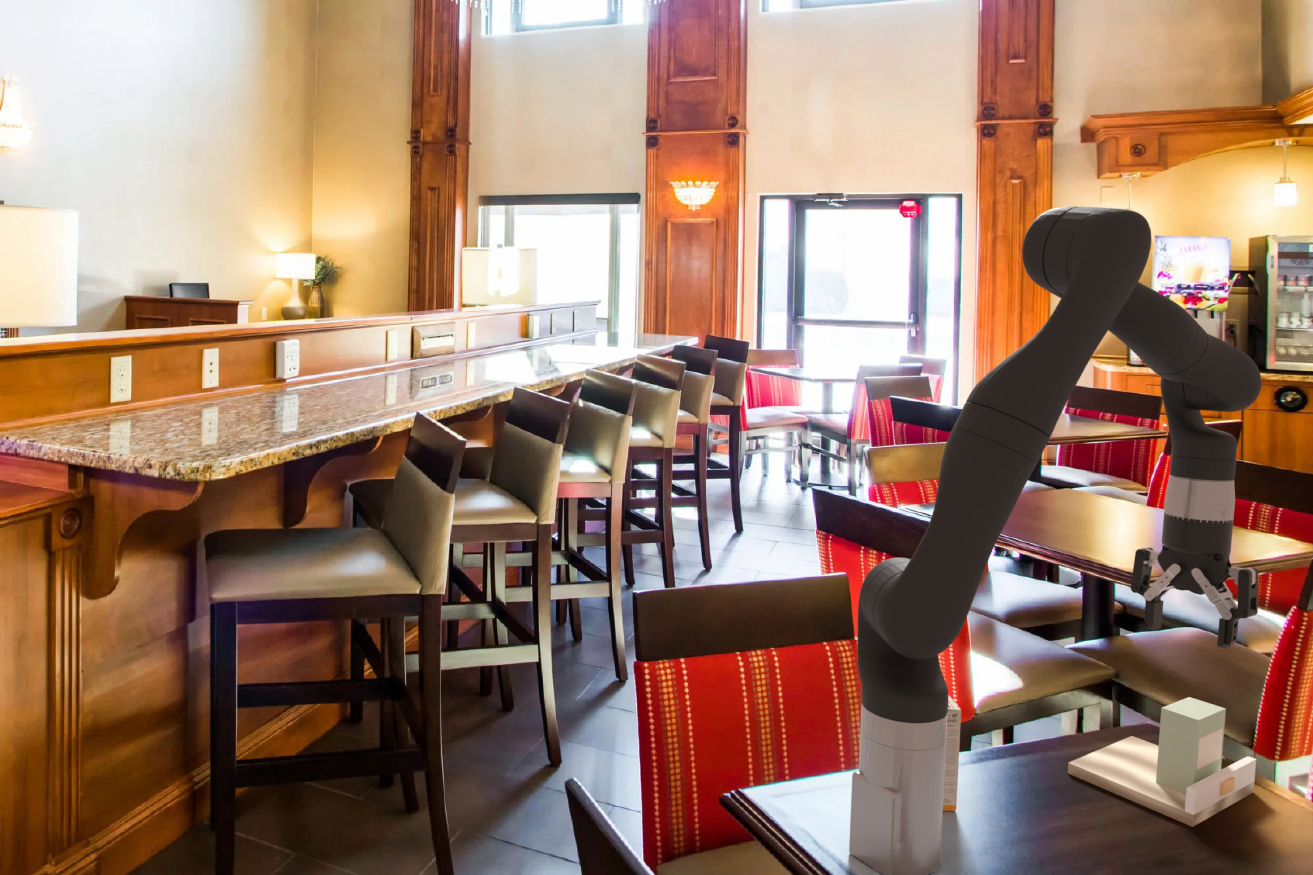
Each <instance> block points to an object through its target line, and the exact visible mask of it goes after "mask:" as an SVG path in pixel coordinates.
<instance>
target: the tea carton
mask: <svg viewBox="0 0 1313 875" xmlns="http://www.w3.org/2000/svg"><path fill="white" fill-rule="evenodd" d="M1160 711H1161V712H1160V721H1159V722H1160V723H1159V734H1158V735H1159V736H1158V746H1159V747H1158V760H1157V774H1156V783H1158V784H1161V785H1163V786H1166V787H1168V788H1171V789H1173V790H1176V791H1178V792H1181V793H1183V794H1185V795H1186V789H1187V787H1189V786H1191V785H1193V784H1195V783H1197V782H1199V781H1201V780H1202V779H1204V778H1206V777H1208V776H1210V775H1212V774H1214V773H1216V772H1218V771H1220V770H1221V769H1222V763H1223V762H1222V760H1223V749H1224V747H1223V746H1224V735H1225V725H1226V714H1227V713H1226V711H1227V708H1225V707H1222V706H1219V705H1216V704H1212V703H1209V702H1206V701H1203V700H1200V699H1197V698H1193V697H1190V696H1188V697H1186V698H1183V699H1181V700H1177V701H1175V702H1172V703H1170V704H1168V705H1165V706H1162V707H1161V709H1160Z"/></svg>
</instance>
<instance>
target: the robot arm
mask: <svg viewBox="0 0 1313 875" xmlns="http://www.w3.org/2000/svg"><path fill="white" fill-rule="evenodd" d="M1151 248H1152V229H1151V227H1150V224H1149V222H1148V220H1147V219H1146V218H1145V216H1144V215H1142V214H1141V213H1140V212H1137V211H1134V210H1132V209H1131V210H1130V209H1125V208H1113V207H1101V206H1100V207H1097V206H1077V205H1076V206H1073V205H1072V206H1061V207H1055V208H1051V209H1049V210H1046V211H1044V212H1042V213H1041V214H1040V215H1038V216H1037V218H1035V219H1034V220H1033V222H1032V223H1031V224H1030V226H1029V228H1028V229H1027V231H1026V233H1025V236H1024V240H1023V243H1022V249H1021V250H1022V252H1021V253H1022V254H1021V255H1022V262H1023V267H1024V269H1025V272H1026V273H1027V275H1028V277H1029V278H1030V279H1031V280H1032V281H1033V282H1034V283H1035V285H1037V286H1039V287H1041V289H1044V290H1046V292H1049V293H1050V294H1052V295H1054V296H1056V297H1057V298H1060V300H1059V301H1058V304H1057V305H1056V306H1055V309H1054V311H1053V312H1052V314H1051V315H1050V316H1049V318H1048V319H1047V321H1046V322H1045V323H1044V325H1042V327H1041V328H1040V329H1039V330H1038V331H1037V332H1036V333H1035V335H1034V336H1033V337H1031V338H1030V339H1028V340H1027V342H1025V343H1023V345H1021V346H1020V347H1019V348H1017V350H1015V351H1014V352H1013V353H1011V354H1010V355H1009V356H1007V357H1006V358H1005V359H1004V360H1001V362H1000V363H999V364H997V365H996V366H995V367H994V368H993V369H992V370H990V371H989V372H988V373H987V374H986V375H985V376H983V377H982V379H981V380H979V381H978V382H977V383H976V384H975V385H974V387H973V389H972V390H971V392H970V393H969V395H968V396H967V399H966V401H965V403H964V404H963V407H962V409H961V411H960V413H959V415H958V417H957V420H955V423H954V425H953V427H952V429H951V430H950V433H949V436H948V438H947V441H946V444H945V447H944V450H943V454H942V458H941V462H940V463H941V465H940V468H939V478H938V483H937V490H936V497H935V502H934V508H933V511H932V515H931V518H930V520H929V522H928V526H927V528H926V530H925V532H924V534H923V536H922V538H921V540H920V541H919V543H918V545H917V547H916V549H915V551H914V553H913V554H912V557H911V558H907V557H892V558H888V559H885V560H883V561H881V562H879V563H878V564H876V565H875V566H874V567H872V569H870V571H869V572H868V574H866V576H865V578H864V580H863V582H862V584H861V587H860V592H859V596H858V607H857V669H858V676H859V681H860V685H861V706H860V708H861V711H860V729H859V730H860V733H859V753H858V754H859V755H858V756H859V757H858V770H856V771H854V772H853V773H852V774H851V795H850V796H851V797H850V798H851V799H850V826H849V849H848V853H849V854H851V855H852V856H854V857H855V858H856V859H858V860H860V861H862V862H863V863H864V864H866V865H868V866H869V867H871V868H873V869H874V870H875V871H876V872H878V873H880V874H881V875H929V874H931V873H933V872H935V870H937V869H938V868H939V866H940V862H941V851H942V850H941V848H942V835H943V834H942V832H943V830H942V829H943V812H944V811H943V794H944V775H945V755H946V738H947V718H948V695H949V689H948V686H947V682H946V679H945V678H944V675H943V672H942V668H941V664H940V658H939V655H940V654H941V653H943V652H944V651H946V650H947V649H948V648H949V647H950V646H951V645H952V644H953V643H954V642H955V640H956V639H957V638H958V636H959V635H960V633H961V631H962V629H963V627H964V625H965V622H966V620H967V618H968V615H969V612H970V611H971V610H970V609H971V607H972V604H973V602H974V599H975V596H976V593H977V592H978V591H977V590H978V588H979V586H980V582H981V580H982V577H983V575H984V572H985V570H986V567H987V564H988V562H989V559H990V557H991V555H992V552H993V550H994V548H995V546H996V544H997V541H998V540H999V537H1000V536H1001V534H1002V532H1003V530H1004V528H1005V526H1006V524H1007V523H1008V520H1009V518H1010V516H1011V515H1012V512H1013V510H1014V508H1015V506H1016V504H1017V502H1018V500H1019V498H1020V496H1021V494H1022V492H1023V491H1024V489H1025V488H1024V487H1025V486H1026V484H1027V482H1028V481H1029V479H1030V477H1031V475H1032V473H1033V471H1034V470H1035V469H1036V466H1037V464H1038V462H1039V461H1040V459H1041V457H1042V455H1043V453H1044V451H1045V449H1046V446H1047V445H1048V443H1049V441H1050V438H1051V437H1052V435H1053V432H1054V431H1055V428H1056V425H1057V424H1058V421H1059V420H1060V416H1061V414H1062V412H1063V411H1064V409H1065V407H1066V405H1067V403H1068V401H1069V399H1070V397H1071V395H1072V394H1073V391H1074V390H1075V388H1076V386H1077V384H1078V382H1079V380H1080V378H1081V376H1082V374H1083V373H1084V371H1085V369H1086V367H1087V366H1088V364H1089V362H1090V360H1091V358H1092V357H1093V355H1094V353H1095V351H1096V350H1097V348H1098V346H1100V344H1101V342H1102V341H1103V339H1104V338H1105V336H1106V334H1107V333H1108V332H1110V333H1111V334H1112V335H1113V336H1115V337H1116V338H1117V339H1118V340H1119V341H1121V342H1122V343H1123V344H1124V345H1126V346H1127V347H1128V348H1129V349H1130V350H1131V351H1132V352H1133V353H1134V354H1135V355H1136V356H1137V357H1138V358H1139V359H1140V360H1141V361H1142V362H1143V363H1144V364H1145V365H1147V367H1148V368H1150V369H1151V371H1153V372H1154V373H1155V374H1157V375H1158V376H1159V377H1160V382H1159V383H1160V394H1161V399H1162V403H1163V408H1164V410H1165V415H1166V420H1167V425H1168V430H1169V436H1170V442H1171V450H1170V451H1171V452H1170V464H1169V472H1168V474H1169V475H1168V482H1167V484H1166V489H1165V496H1164V502H1163V510H1164V511H1163V521H1162V523H1163V524H1162V535H1161V546H1162V548H1161V551H1156V550H1155V549H1153V548H1152V547H1142V548H1139V549H1136V550H1135V554H1134V560H1133V568H1132V573H1131V574H1132V575H1131V580H1130V581H1131V582H1130V583H1131V584H1130V591H1131V592H1132V593H1135V594H1139V595H1140V596H1142V597H1143V598H1144V600H1145V603H1144V604H1145V606H1144V616H1143V620H1144V622H1145V624H1146V625H1147V629H1148V630H1152V631H1156V630H1159V629H1161V627H1162V624H1163V613H1164V612H1163V610H1164V600H1161V599H1162V597H1163V596H1165V595H1166V594H1167V593H1168V592H1169V591H1170V590H1171V589H1173V588H1174V590H1178V591H1189V592H1190V593H1193V594H1196V595H1200V596H1202V595H1205V596H1206V598H1207V599H1208V601H1209V602H1210V603H1211V604H1213V605H1214V607H1215V608H1216V610H1217V611H1218V613H1219V615H1220V617H1221V618H1219V619H1218V631H1217V643H1216V645H1217V648H1219V649H1223V650H1225V649H1229V648H1231V646H1232V645H1235V644H1236V643H1237V641H1238V632H1239V631H1238V629H1239V620H1240V619H1247V618H1251V617H1254V616H1256V615H1258V613H1259V612H1258V611H1259V610H1258V608H1259V570H1258V569H1257V568H1256V567H1255V566H1254V567H1253V566H1251V567H1247V568H1244V567H1239V566H1238V567H1237V566H1233V565H1232V564H1231V560H1230V555H1231V551H1232V540H1233V528H1234V518H1235V516H1234V515H1235V506H1236V493H1235V478H1236V467H1237V457H1238V456H1237V455H1238V441H1237V438H1236V437H1235V436H1234V435H1233V434H1231V433H1228V432H1227V431H1223V430H1219V429H1216V428H1213V427H1211V426H1209V425H1207V424H1206V423H1205V420H1204V418H1203V416H1202V413H1201V411H1206V412H1207V411H1208V412H1210V411H1211V412H1220V413H1221V412H1222V413H1223V412H1224V413H1234V412H1239V411H1243V410H1244V409H1247V408H1249V407H1250V406H1252V405H1253V404H1254V403H1255V401H1256V400H1257V399H1258V397H1259V395H1260V393H1261V390H1262V383H1263V382H1262V376H1261V372H1260V370H1259V367H1258V366H1257V363H1255V361H1254V360H1253V359H1252V358H1251V356H1249V355H1247V354H1246V353H1245V352H1244V351H1243V350H1241V349H1239V348H1238V347H1235V346H1234V345H1232V344H1230V343H1228V342H1226V341H1224V340H1223V339H1221V338H1219V337H1216V336H1214V335H1212V334H1210V333H1207V331H1206V330H1205V329H1204V328H1203V327H1202V325H1201V324H1200V323H1199V322H1198V321H1197V320H1195V318H1194V317H1193V316H1192V315H1191V314H1190V313H1189V312H1187V310H1186V309H1185V308H1184V307H1183V306H1181V305H1180V304H1179V303H1177V302H1176V301H1174V300H1172V299H1171V298H1169V297H1167V296H1165V295H1163V294H1161V293H1160V292H1159V291H1157V290H1154V289H1152V288H1151V287H1149V286H1148V285H1145V284H1144V283H1142V282H1139V281H1140V279H1141V277H1142V275H1143V273H1144V270H1145V268H1146V265H1147V263H1148V260H1149V256H1150V252H1151ZM1157 563H1158V564H1159V566H1160V568H1161V569H1162V571H1163V573H1162V575H1160V576H1159V577H1158V578H1157V579H1156V580H1155V581H1154V582H1153V583H1152V585H1151V586H1150V584H1151V577H1152V571H1153V566H1155V565H1156V564H1157ZM1230 577H1232V579H1233V583H1234V584H1235V585H1236V586H1237V603H1236V601H1235V599H1233V593H1232V592H1231V590H1230V589H1229V587H1228V585H1227V584H1226V580H1228V578H1230Z"/></svg>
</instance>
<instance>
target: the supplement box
mask: <svg viewBox="0 0 1313 875" xmlns="http://www.w3.org/2000/svg"><path fill="white" fill-rule="evenodd" d="M961 720H962V709H961V708H960V707H959V706H958V704H957V703H956V702H955V700H953V698H952V697H951V696H950V695H949V694H948V718H947V738H946V755H945V775H944V794H943V812H956V811H957V801H958V799H957V798H958V783H959V782H958V780H959V762H960V761H959V759H960V743H961V742H960V741H961V740H960V739H961V723H962V722H961Z"/></svg>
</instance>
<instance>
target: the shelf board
mask: <svg viewBox="0 0 1313 875" xmlns="http://www.w3.org/2000/svg"><path fill="white" fill-rule="evenodd" d="M1158 747H1159V744H1158V745H1157V744H1155V743H1152V742H1149V741H1147V740H1144V739H1142V738H1139V737H1136V736H1133V735H1131V736H1128V737H1126V738H1123V739H1121V740H1119V741H1115V742H1114V743H1112V744H1109V745H1107V746H1105V747H1103V748H1100V749H1097V750H1095V751H1093V752H1090V753H1087V754H1085V755H1083V756H1081V757H1078V758H1076V759H1074V760H1071V761H1069V762H1068V763H1067V764H1068V765H1067V774H1069V775H1070V776H1074V777H1076V778H1078V779H1080V780H1081V781H1082V780H1083V781H1085V782H1087V783H1090V784H1092V785H1094V786H1096V787H1099V788H1101V789H1104V790H1106V791H1108V792H1111V793H1113V794H1115V795H1117V796H1120V797H1122V798H1124V799H1127V800H1129V801H1132V802H1134V803H1136V804H1138V805H1140V806H1143V807H1145V808H1147V809H1150V810H1152V811H1155V812H1157V813H1160V814H1162V815H1164V816H1167V817H1168V818H1171V819H1174V820H1175V821H1177V822H1181V823H1183V824H1185V825H1187V826H1189V827H1191V828H1192V827H1195V826H1196V825H1198V824H1200V823H1202V822H1203V821H1207V819H1209V818H1211V817H1212V816H1214V815H1216V814H1218V813H1219V812H1221V811H1223V810H1225V809H1226V808H1229V806H1233V805H1234V804H1235V803H1238V801H1241V800H1243V799H1245V798H1246V797H1248V796H1249V795H1252V794H1254V793H1255V792H1254V791H1255V790H1254V789H1255V779H1256V769H1257V768H1256V767H1257V758H1254V757H1252V756H1249V755H1248V756H1246V757H1243V758H1241V759H1239V760H1237V761H1236V762H1233V763H1231V764H1230V765H1228V766H1226V767H1224V768H1221V770H1220V771H1218V772H1216V773H1214V774H1212V775H1210V776H1208V777H1206V778H1204V779H1202V780H1201V781H1199V782H1197V783H1195V784H1193V785H1191V786H1189V787H1187V789H1186V795H1185V794H1183V793H1181V792H1178V791H1176V790H1173V789H1171V788H1168V787H1166V786H1163V785H1161V784H1158V783H1156V774H1157V760H1158Z"/></svg>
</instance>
